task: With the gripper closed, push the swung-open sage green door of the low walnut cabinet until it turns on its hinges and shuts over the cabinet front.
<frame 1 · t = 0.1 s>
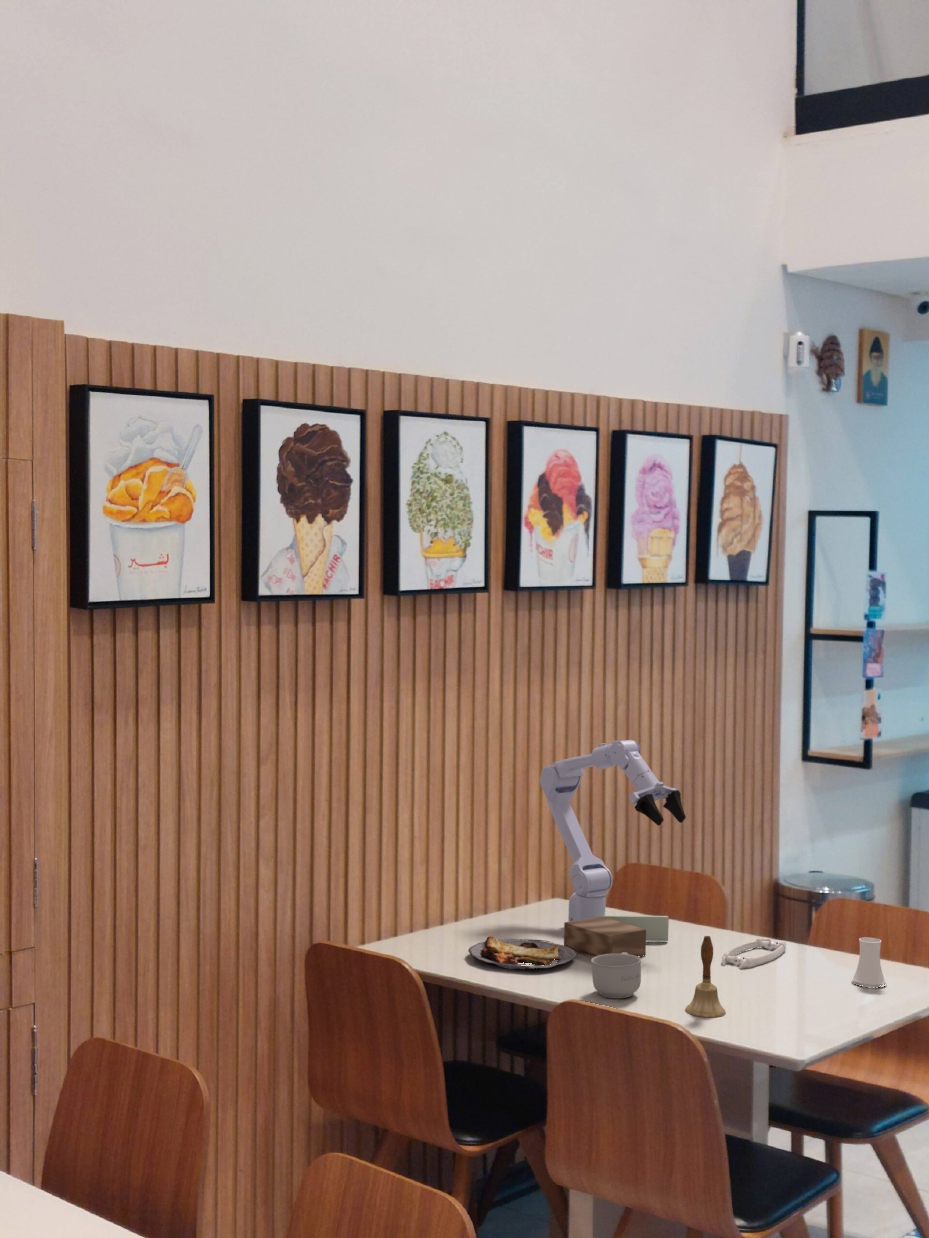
hand: (672, 821, 346), 32 cm above the table, tool tilted 50°, fingers open, 7 cm apart
hand bell: (705, 1012, 300), on the table
teacup: (618, 994, 312), on the table
food plate: (521, 961, 338), on the table
salt shaker: (868, 984, 324), on the table
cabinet: (604, 952, 346), on the table
cabinet door: (634, 927, 358), point 3 cm above the table, hinge at 55.0°
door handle: (754, 959, 345), on the table
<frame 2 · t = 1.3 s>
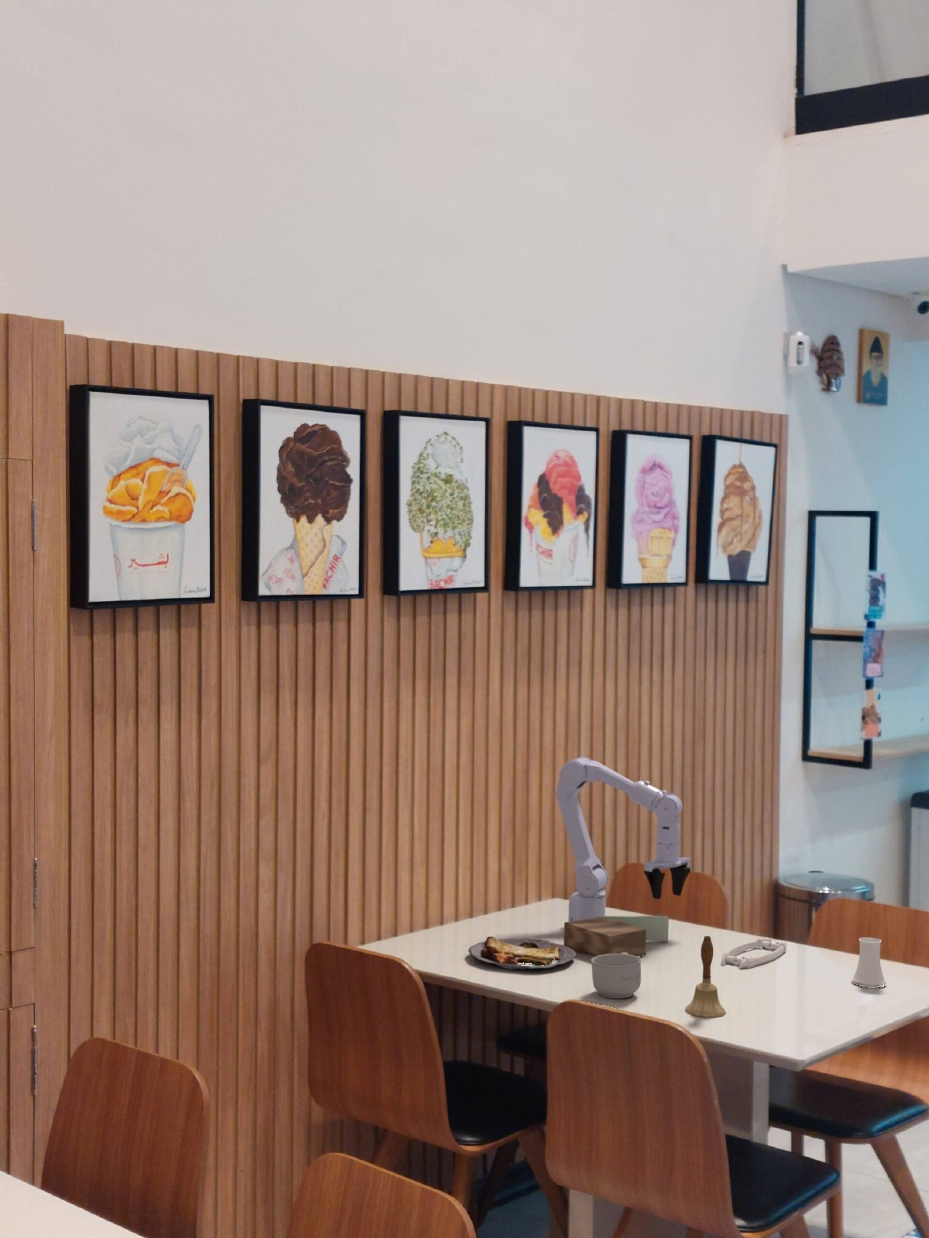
hand: (666, 896, 362), 10 cm above the table, tool pointing down, fingers open, 7 cm apart
nothing on the table moved.
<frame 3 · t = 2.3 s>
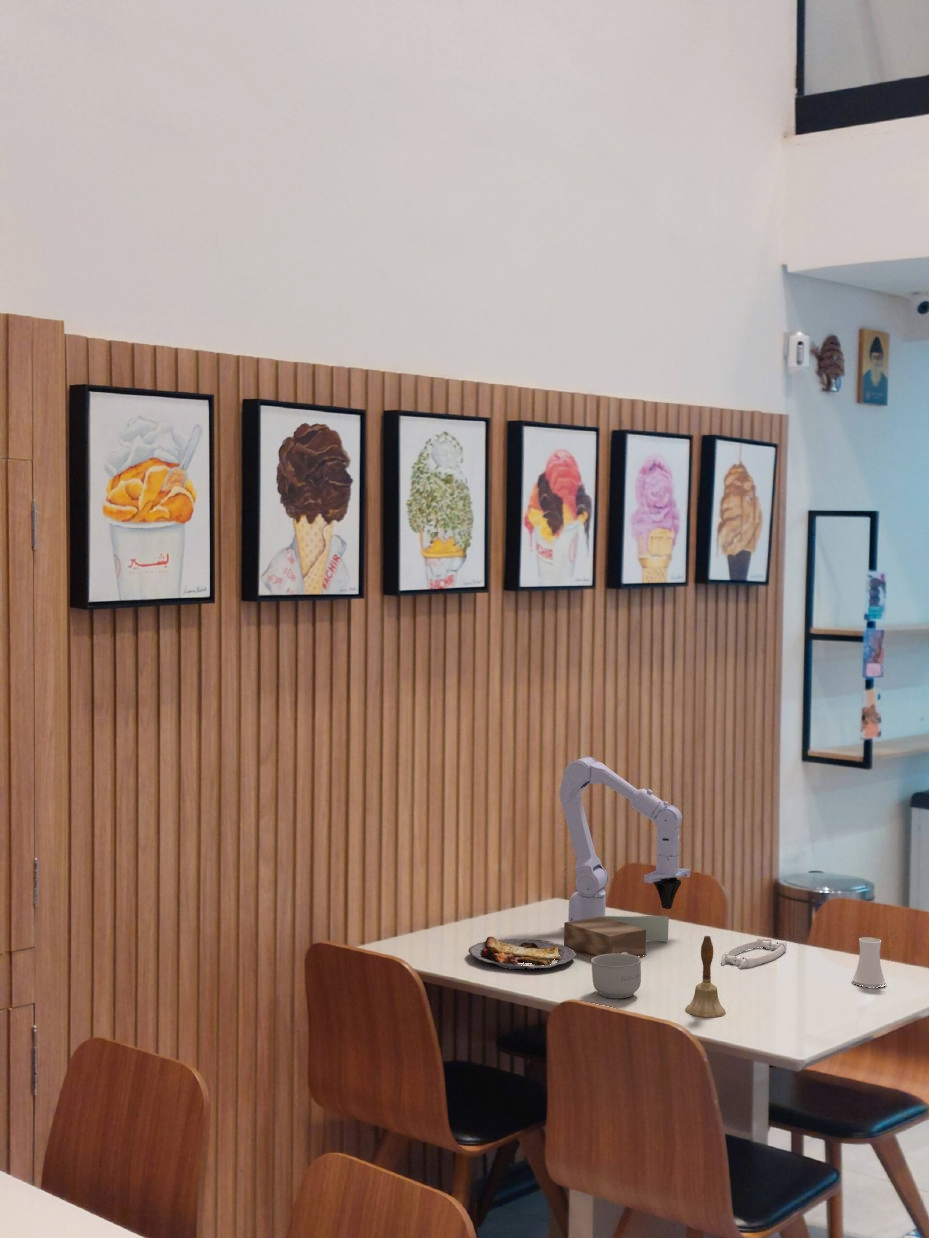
hand: (666, 908, 362), 8 cm above the table, tool pointing down, fingers closed
nothing on the table moved.
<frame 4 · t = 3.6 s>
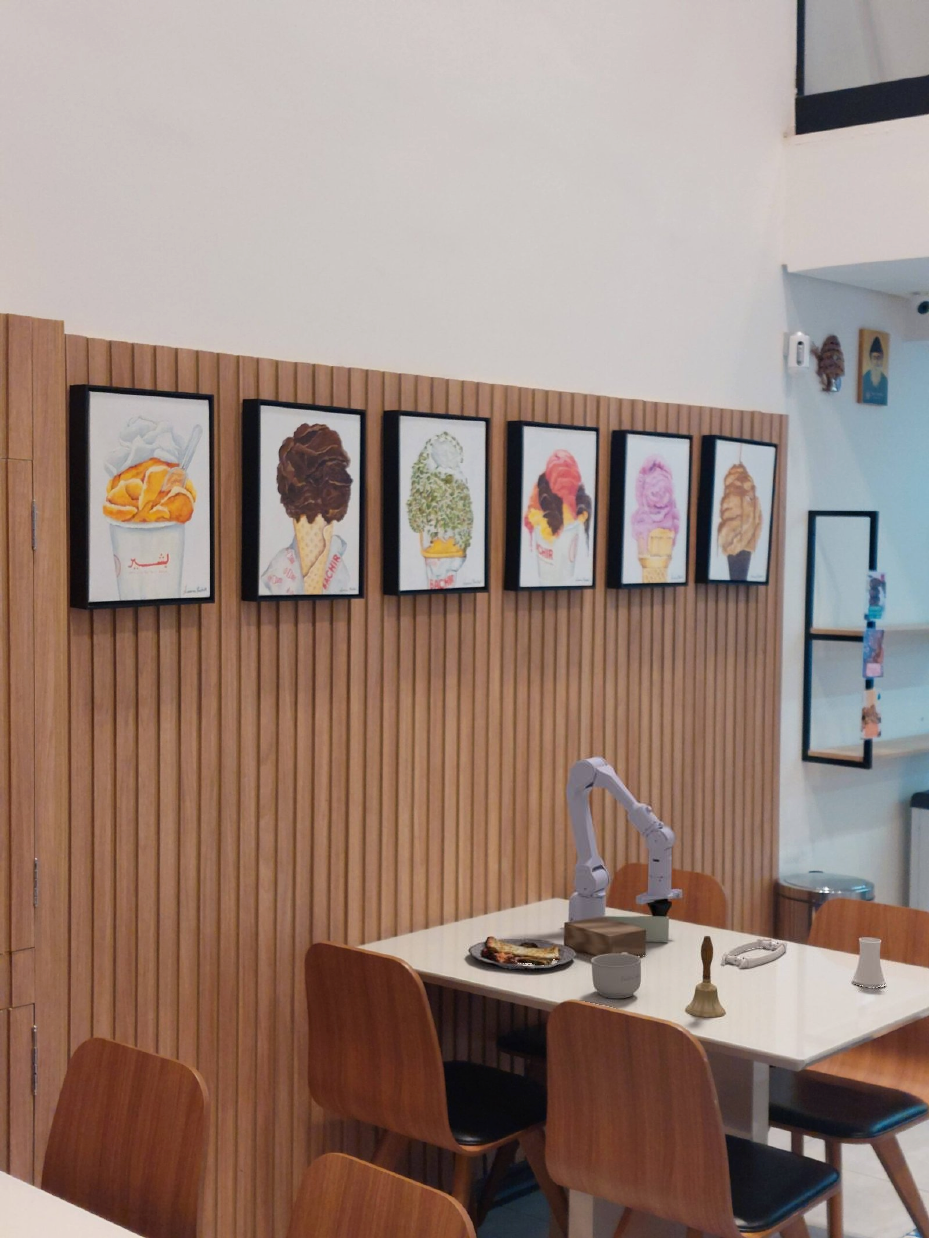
hand: (658, 929, 360), 2 cm above the table, tool pointing down, fingers closed
cabinet door: (634, 927, 357), point 3 cm above the table, hinge at 53.1°, touching gripper
everything else where it was.
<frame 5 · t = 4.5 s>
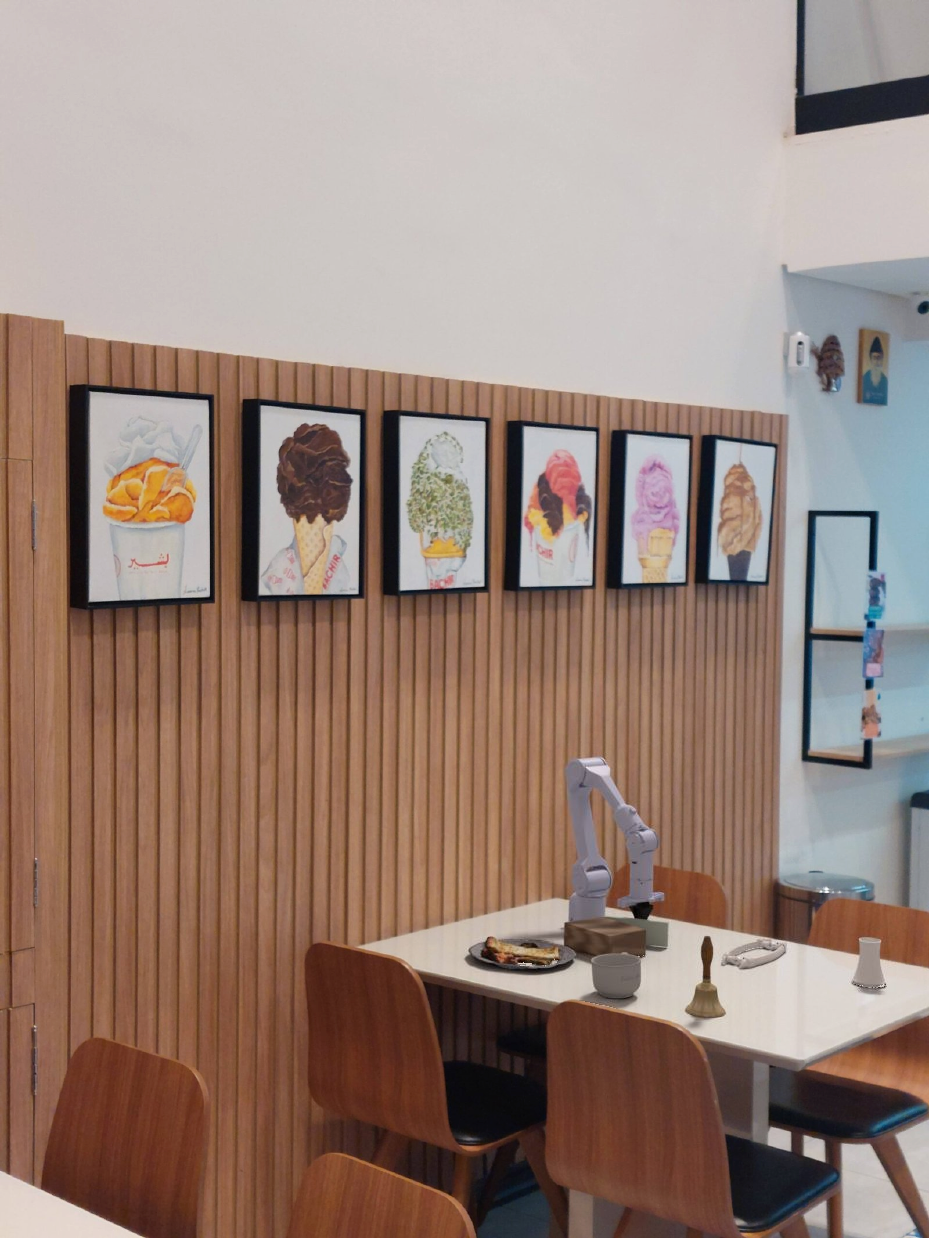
hand: (640, 932, 356), 2 cm above the table, tool pointing down, fingers closed
cabinet door: (634, 930, 355), point 3 cm above the table, hinge at 33.3°, touching gripper
everything else where it was.
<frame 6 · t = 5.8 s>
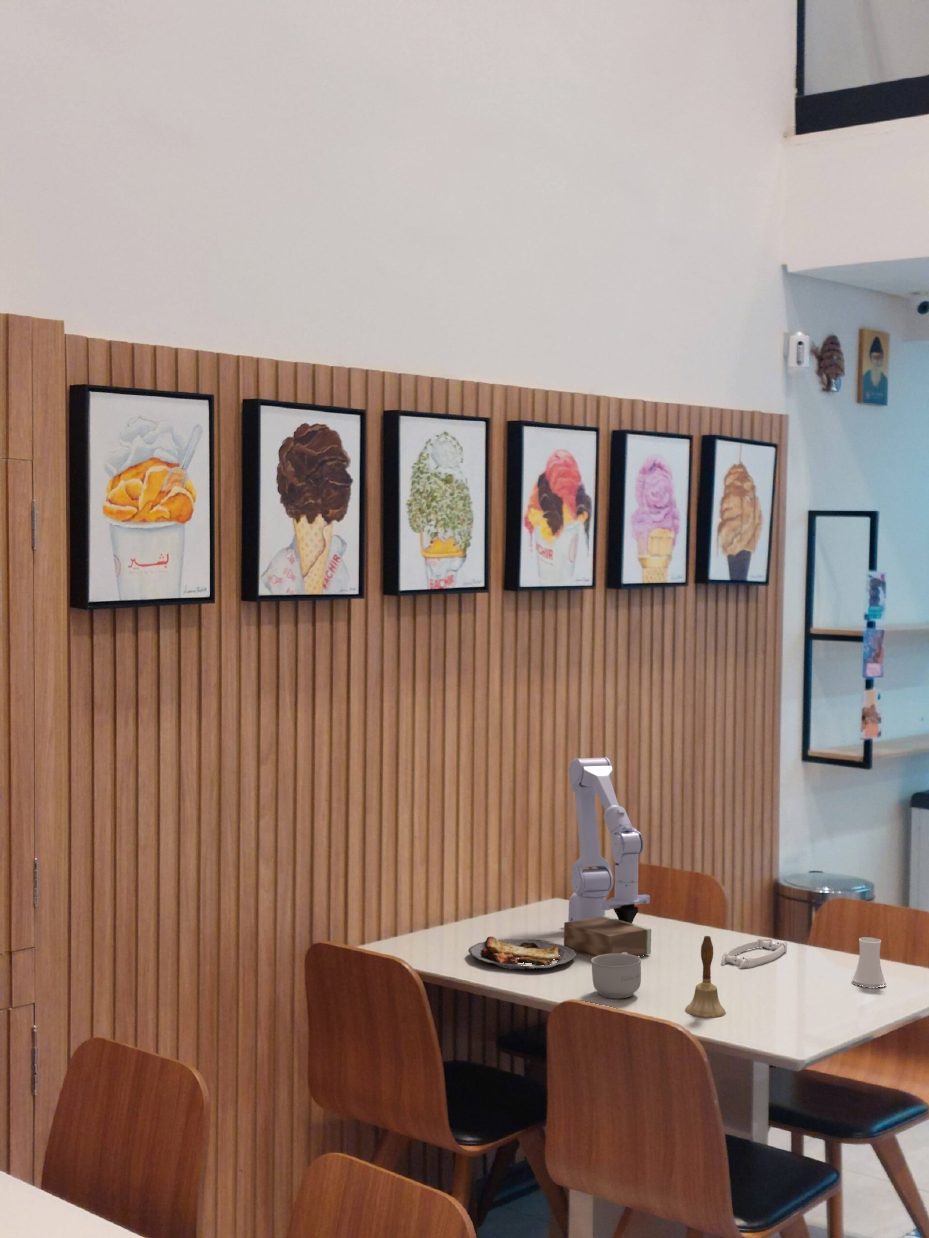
hand: (625, 935, 353), 3 cm above the table, tool pointing down, fingers closed
cabinet door: (626, 934, 351), point 3 cm above the table, hinge at -0.3°, touching gripper
everything else where it was.
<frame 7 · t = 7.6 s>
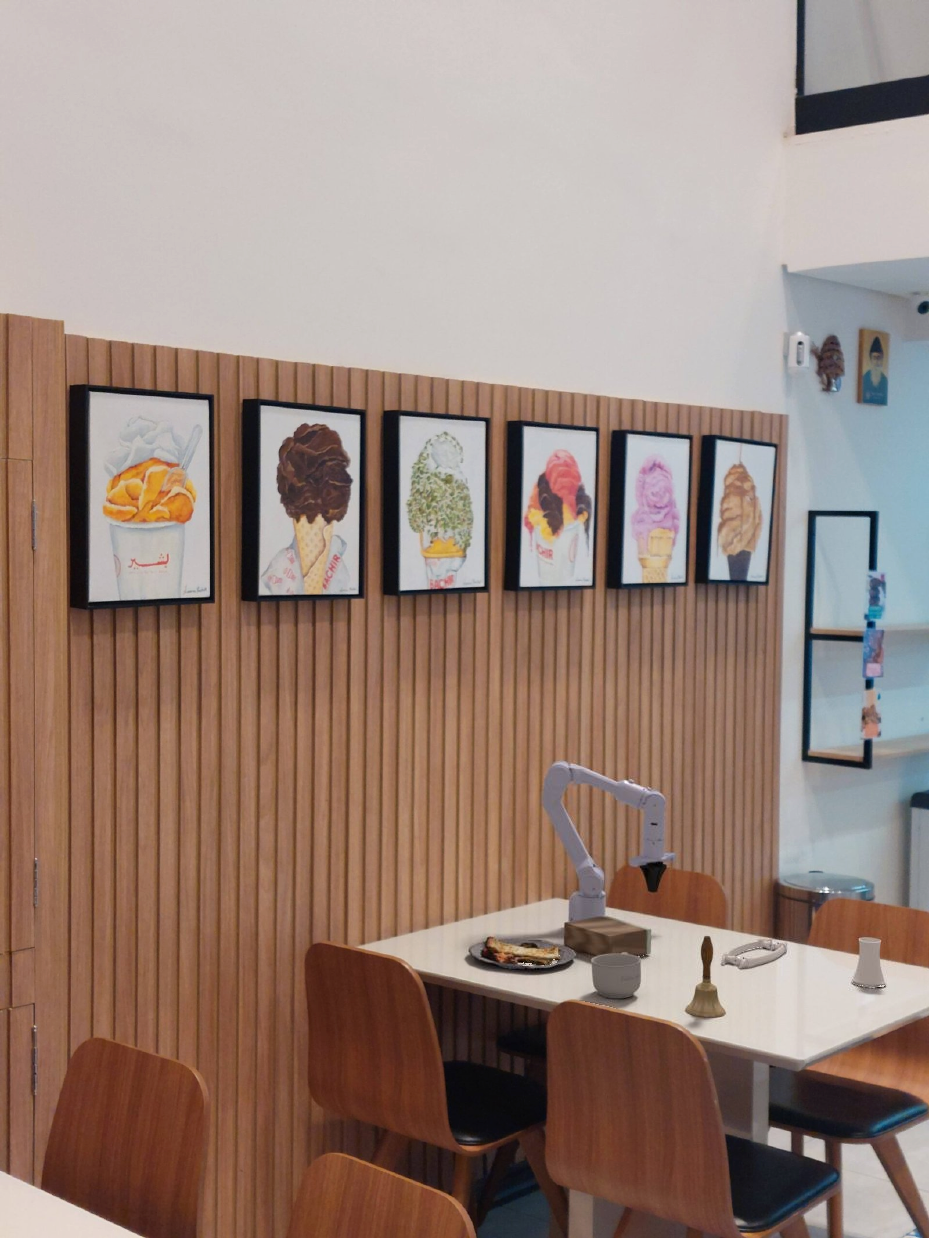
hand: (652, 891, 367), 10 cm above the table, tool pointing down, fingers closed
cabinet door: (626, 934, 351), point 3 cm above the table, hinge at -0.3°
everything else where it was.
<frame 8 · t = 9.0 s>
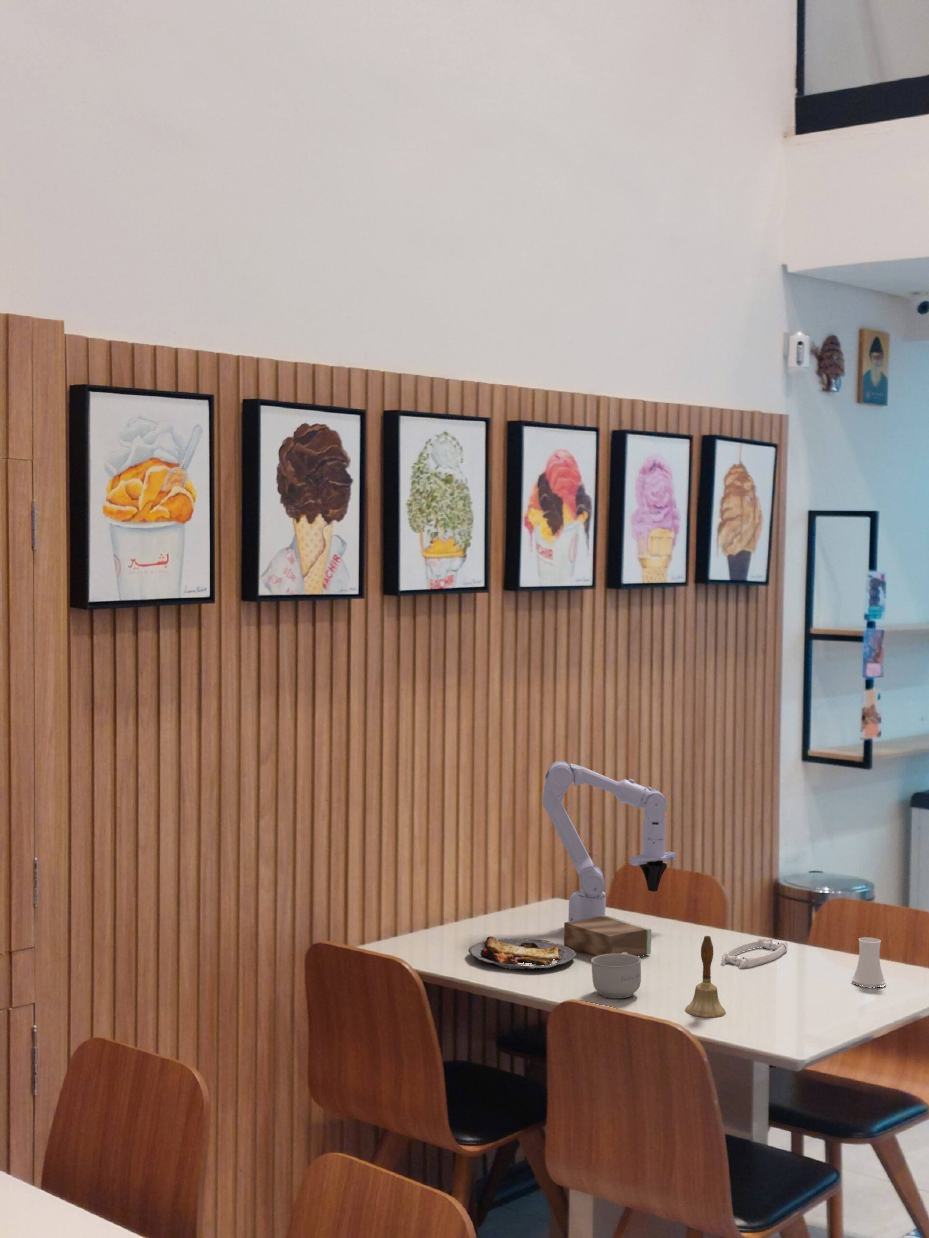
hand: (652, 890, 368), 10 cm above the table, tool pointing down, fingers closed
nothing on the table moved.
at the end: cabinet door at +0° (first picture: +55°); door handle moved 0.6 cm from its start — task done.
